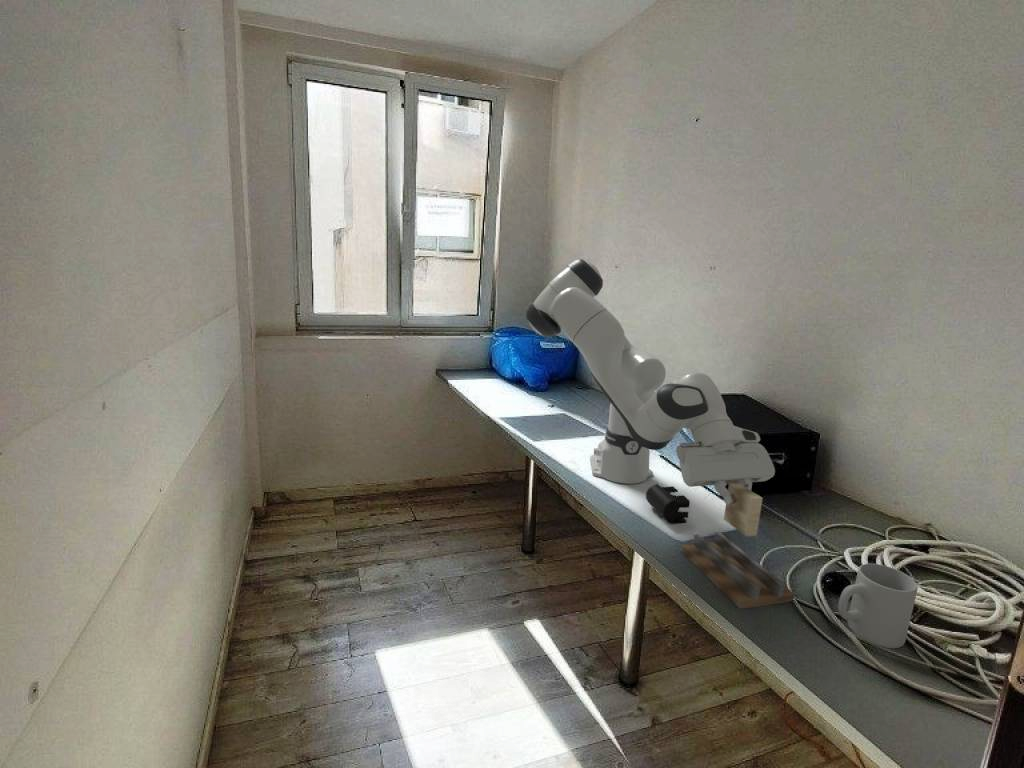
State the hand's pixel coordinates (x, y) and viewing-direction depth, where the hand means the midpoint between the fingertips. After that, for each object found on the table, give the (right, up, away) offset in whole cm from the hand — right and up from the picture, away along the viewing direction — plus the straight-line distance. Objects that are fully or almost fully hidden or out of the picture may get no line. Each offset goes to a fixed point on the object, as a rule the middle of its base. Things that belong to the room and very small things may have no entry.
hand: (740, 503), depth 104 cm
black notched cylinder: (-7, -10, +28) cm, 30 cm away
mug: (+16, -20, -13) cm, 29 cm away
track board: (0, -16, +3) cm, 16 cm away
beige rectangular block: (0, -5, 0) cm, 5 cm away
